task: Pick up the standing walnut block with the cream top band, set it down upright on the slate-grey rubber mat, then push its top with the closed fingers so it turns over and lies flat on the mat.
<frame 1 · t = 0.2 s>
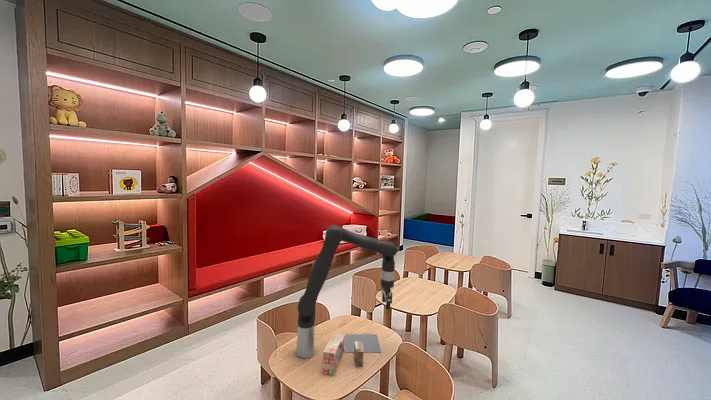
hand: (385, 305, 162), 28 cm above the table, fingers open, 8 cm apart
mat: (362, 343, 173), on the table
stack of blocks: (334, 361, 156), on the table
walnut block: (358, 362, 156), on the table
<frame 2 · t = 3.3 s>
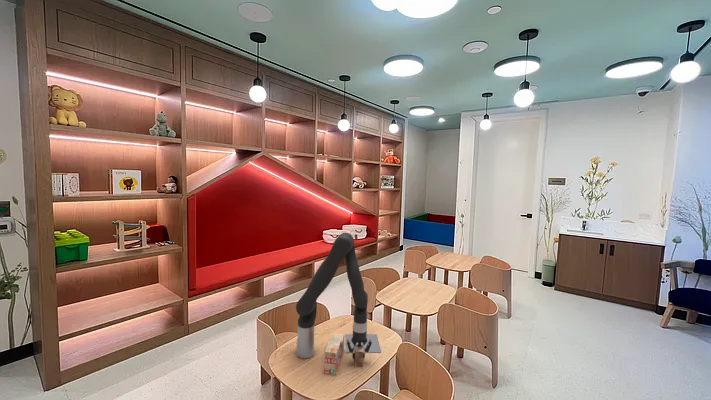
hand: (358, 358, 156), 2 cm above the table, fingers closed on walnut block, 4 cm apart
walnut block: (358, 362, 156), on the table, touching gripper
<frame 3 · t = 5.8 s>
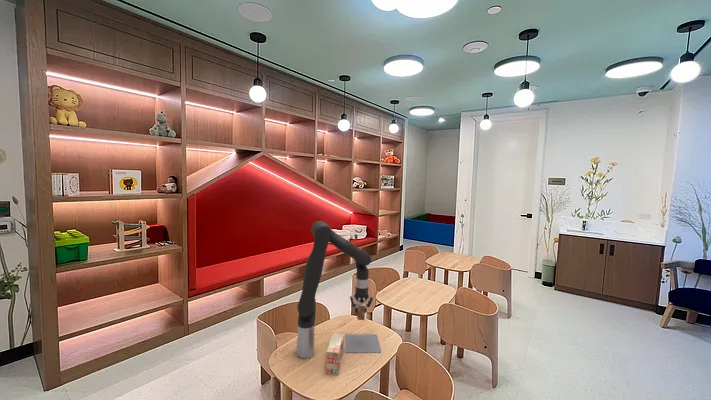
hand: (360, 313, 171), 19 cm above the table, fingers closed on walnut block, 4 cm apart
walnut block: (360, 316, 171), point 17 cm above the table, touching gripper
when the fingers open (4 cm above the table, at t = 8.5 s): walnut block stays where it is, resting on mat.
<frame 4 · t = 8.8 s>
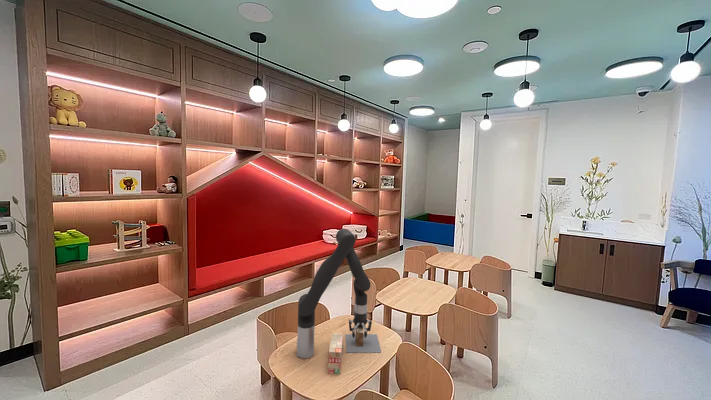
hand: (359, 336, 173), 4 cm above the table, fingers open, 6 cm apart
walnut block: (359, 342, 173), resting on mat
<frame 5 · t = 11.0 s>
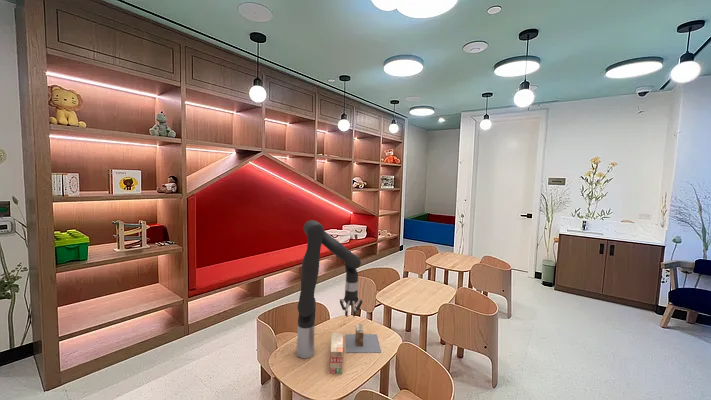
hand: (350, 316, 171), 17 cm above the table, fingers open, 3 cm apart
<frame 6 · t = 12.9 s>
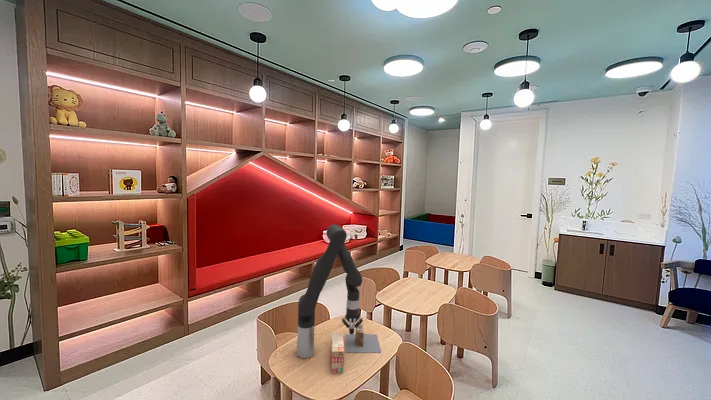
hand: (351, 333, 172), 6 cm above the table, fingers closed
walnut block: (359, 342, 173), resting on mat, touching gripper
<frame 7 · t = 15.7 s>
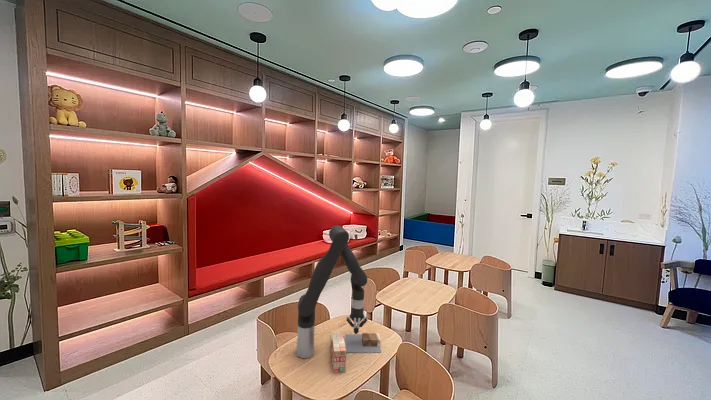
hand: (356, 333, 173), 6 cm above the table, fingers closed
walnut block: (362, 339, 173), point 2 cm above the table, tilted 90°, touching mat
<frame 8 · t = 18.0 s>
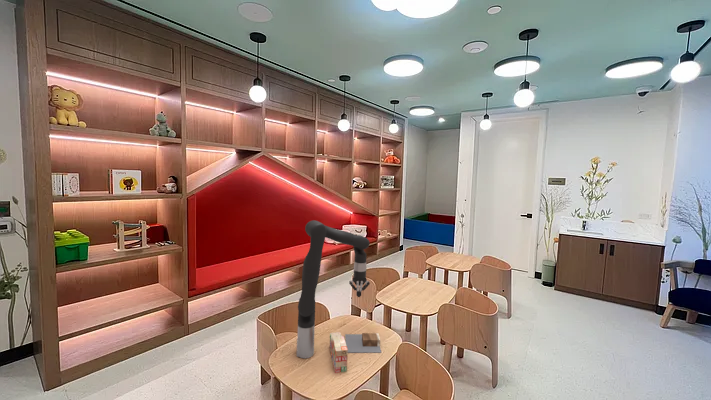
hand: (358, 296, 175), 27 cm above the table, fingers closed
at the end: walnut block tilted 90°; walnut block inside the target area (3.0 cm from its centre), point 2.4 cm above the table; the gripper is holding nothing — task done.
